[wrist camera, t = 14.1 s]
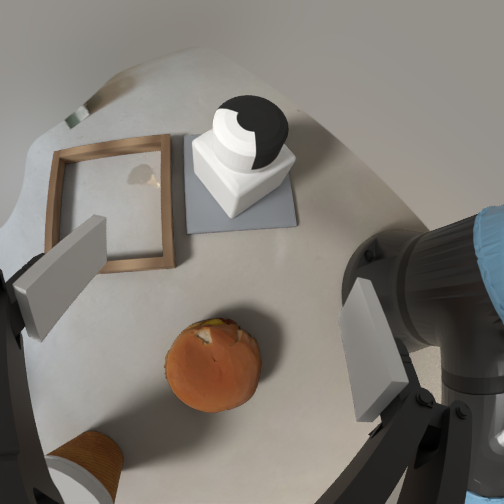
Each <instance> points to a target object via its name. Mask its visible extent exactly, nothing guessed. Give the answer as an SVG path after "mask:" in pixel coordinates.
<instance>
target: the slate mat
mask: <svg viewBox="0 0 504 504" xmlns="http://www.w3.org/2000/svg"><path fill="white" fill-rule="evenodd" d="M199 136H201V135H187V136H184V177H185V203H186V223H187V235H189V234H202V233H215V232H228V231H242V230H257V229H272V228H288V227H296V226H297V224H296V217H295V210H294V203H293V196H292V189H291V183H290V176H289V172H288V173H287V175H286V177H285V178H284V180H283V181H282V183H281V185H280V186H279V187H277V188H276V189H274V190H273V191H272V192H270V193H269V194H267V195H266V196H264V197H263V198H261V199H260V200H259V201H257V202H256V203H254V204H253V205H251V206H250V207H249V208H247V209H246V210H244V211H243V212H242V213H240V214H239V215H237V216H236V217H235V218H230V217H229V216H228V215H227V214H226V212H225V211H224V210H223V209H222V207H221V206H220V205H219V203H218V202H217V201H216V200H215V198H214V197H213V196H212V194H211V193H210V192H209V191H208V189H207V188H206V187H205V185H204V184H203V183H202V182H201V180H200V179H199V178H198V176H197V175H196V174H195V172H194V163H193V149H192V141H193V140H194V139H196V138H197V137H199Z"/></svg>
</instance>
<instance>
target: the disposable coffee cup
mask: <svg viewBox="0 0 504 504" xmlns="http://www.w3.org/2000/svg"><path fill="white" fill-rule="evenodd" d="M44 457H45V460H46V464H47V467H48V470H49V473H50V476H51V478H52V480H53V482H54V484H55V485H56V487H57V489H58V490H59V492H60V494H61V496H62V498H63V500H64V503H65V504H114V503H115V498H116V493H117V488H118V483H119V479H120V474H121V469H122V465H123V455H122V452H121V450H120V448H119V447H118V446H117V444H116V443H115V442H114V441H113V440H112V439H110V438H109V437H107V436H106V435H104V434H101V433H99V432H95V431H88V432H84V433H82V434H80V435H79V436H77V437H75V438H74V439H72V440H71V441H69V442H67V443H66V444H64V445H62V446H61V447H59V448H57V449H56V450H54V451H52V452H50V453H49V454H47V455H44Z"/></svg>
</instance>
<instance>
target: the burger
mask: <svg viewBox="0 0 504 504" xmlns="http://www.w3.org/2000/svg"><path fill="white" fill-rule="evenodd" d="M164 368H165V371H166V372H165V374H166V379H167V381H168V383H169V385H170V386H171V388H172V390H173V392H174V393H175V395H176V396H177V397H178V398H179V399H180V400H181V401H183V402H184V403H185V404H186V405H188V406H190V407H191V408H194V409H197V410H200V411H204V412H208V413H210V412H221V411H225V410H229V409H233V408H235V407H238V406H240V405H242V404H244V403H245V402H247V401H248V400H249V399H250V398H251V397H252V396H253V394H254V393H255V391H256V388H257V385H258V382H259V377H260V373H261V356H260V350H259V347H258V344H257V341H256V340H255V338H251V336H250V334H248V333H247V332H245V331H244V330H243V329H240V326H238V325H237V324H236V323H235V322H234V321H233V320H231V319H223V318H216V319H208V320H206V321H201V322H197V323H194V324H192V325H190V326H189V327H188V328H186V329H185V330H183V331H182V332H181V334H180V335H179V336H178V337H177V339H176V340H175V341H174V343H173V345H172V347H171V349H170V350H169V351H168V353H167V354H166V357H165V365H164Z"/></svg>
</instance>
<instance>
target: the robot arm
mask: <svg viewBox="0 0 504 504" xmlns="http://www.w3.org/2000/svg"><path fill="white" fill-rule="evenodd" d="M106 263H107V248H106V217H103V216H98V215H93V216H92V217H90V218H89V219H88V220H87V221H85V222H84V223H83V224H81V225H80V226H79V227H78V228H76V229H75V230H74V231H73V232H71V233H70V234H69V235H68V236H66V237H65V238H64V239H63V240H61V241H60V242H59V243H58V244H57V245H56V246H54V247H53V248H52V249H51V250H50V251H48V252H47V253H41V254H39V255H37V256H35V257H33V258H32V259H31V260H30V261H29V262H28V263H27V264H25V265H24V266H23V267H22V269H20V270H19V271H17V272H16V273H15V274H14V275H13V276H12V277H11V278H10V279H9V280H8V281H7V282H6V283H5V280H4V277H3V273H2V270H1V269H0V504H65V503H64V500H63V498H62V496H61V494H60V492H59V490H58V489H57V487H56V485H55V484H54V482H53V480H52V478H51V476H50V473H49V470H48V467H47V464H46V460H45V457H44V454H43V450H42V447H41V443H40V439H39V436H38V432H37V428H36V423H35V419H34V414H33V410H32V405H31V399H30V394H29V388H28V381H27V374H26V367H25V358H24V348H23V337H22V334H21V331H22V330H23V328H24V327H26V330H27V333H28V336H29V337H31V338H33V339H35V340H37V341H39V342H41V343H42V341H43V340H44V339H45V337H46V336H47V335H48V333H49V332H50V331H51V329H52V328H53V327H54V325H55V324H56V323H57V321H58V320H59V319H60V318H61V316H62V315H63V314H64V313H65V311H66V310H67V309H68V308H69V306H70V305H71V304H72V303H73V301H74V300H75V299H76V298H77V297H78V295H79V294H80V293H81V292H82V291H83V289H84V288H85V287H86V286H87V285H88V283H89V282H90V281H91V280H92V279H93V278H94V276H95V275H96V274H97V273H98V272H99V271H100V270H101V268H102V267H103V266H104V265H105V264H106ZM342 304H343V308H342V310H341V312H340V314H339V316H338V322H339V326H340V331H341V336H342V341H343V346H344V351H345V356H346V362H347V367H348V373H349V378H350V384H351V390H352V396H353V402H354V408H355V415H356V421H357V422H373V421H374V420H375V419H376V418H377V417H378V416H379V415H380V416H381V421H382V422H381V423H380V424H379V425H378V426H377V427H376V428H375V429H374V430H373V431H372V432H371V433H369V434H368V435H370V437H369V439H368V440H367V441H366V443H365V444H364V445H363V447H362V448H361V449H360V451H359V452H358V453H357V455H356V456H355V457H354V459H353V460H352V461H351V462H350V464H349V465H348V466H347V467H346V469H345V470H344V471H343V472H342V473H341V475H340V476H339V477H338V478H337V479H336V480H335V482H334V483H333V484H332V485H331V486H330V487H329V488H328V490H327V491H326V492H325V493H324V494H323V495H322V496H321V497H320V498H319V499H318V500H317V501H316V503H315V504H385V503H386V501H387V499H388V498H389V496H390V495H391V493H392V491H393V490H394V488H395V487H396V485H397V483H398V482H399V480H400V478H401V477H402V475H403V473H404V472H405V470H406V468H407V466H408V468H407V472H406V475H405V479H404V482H403V486H402V489H401V492H400V495H399V498H398V502H397V504H503V503H504V205H501V206H490V207H487V208H485V209H483V210H482V211H481V212H480V213H478V214H476V215H474V216H471V217H468V218H466V219H463V220H461V221H458V222H455V223H453V224H450V225H447V226H444V227H441V228H438V229H436V230H433V231H430V232H428V233H420V232H413V231H406V230H390V231H386V232H383V233H380V234H378V235H376V236H373V237H371V238H369V239H368V240H366V241H365V242H364V243H362V244H361V245H360V246H359V247H358V248H357V250H356V251H355V252H354V254H353V255H352V257H351V258H350V260H349V262H348V265H347V267H346V270H345V273H344V277H343V283H342ZM429 346H438V347H440V350H441V370H442V402H441V404H439V403H436V401H435V398H434V397H433V395H432V394H431V393H430V392H429V391H428V390H426V389H425V388H422V387H421V386H420V383H419V380H418V377H417V375H416V372H415V369H414V366H413V364H412V361H411V358H410V357H409V353H411V352H414V351H417V350H420V349H423V348H426V347H429Z"/></svg>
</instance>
